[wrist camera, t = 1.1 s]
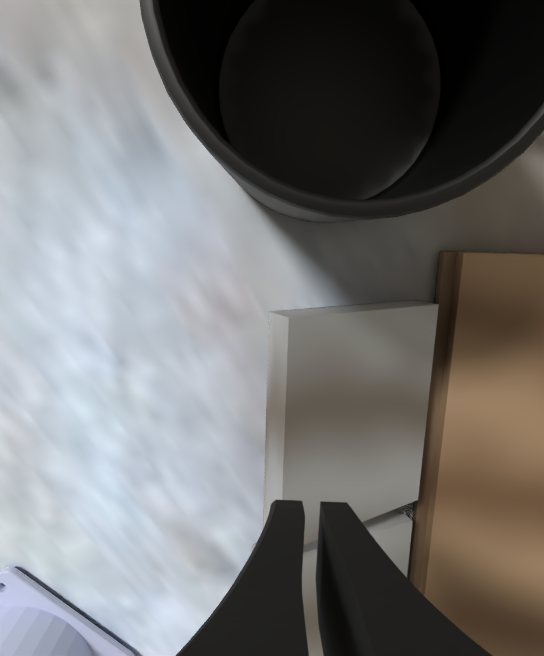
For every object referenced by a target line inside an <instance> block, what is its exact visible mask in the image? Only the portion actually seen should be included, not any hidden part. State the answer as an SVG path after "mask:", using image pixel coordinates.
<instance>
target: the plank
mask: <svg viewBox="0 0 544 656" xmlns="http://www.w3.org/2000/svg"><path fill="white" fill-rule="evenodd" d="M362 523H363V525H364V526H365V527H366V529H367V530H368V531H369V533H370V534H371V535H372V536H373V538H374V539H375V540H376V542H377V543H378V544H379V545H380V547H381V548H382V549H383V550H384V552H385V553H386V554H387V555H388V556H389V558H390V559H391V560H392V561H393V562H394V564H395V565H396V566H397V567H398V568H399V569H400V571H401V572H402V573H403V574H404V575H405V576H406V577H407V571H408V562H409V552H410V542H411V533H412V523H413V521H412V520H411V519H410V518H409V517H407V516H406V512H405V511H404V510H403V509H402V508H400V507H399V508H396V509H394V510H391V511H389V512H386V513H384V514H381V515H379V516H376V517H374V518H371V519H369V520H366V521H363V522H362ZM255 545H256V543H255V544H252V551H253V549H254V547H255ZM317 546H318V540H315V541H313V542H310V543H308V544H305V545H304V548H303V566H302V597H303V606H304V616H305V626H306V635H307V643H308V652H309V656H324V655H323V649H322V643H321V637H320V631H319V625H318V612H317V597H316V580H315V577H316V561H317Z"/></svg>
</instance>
